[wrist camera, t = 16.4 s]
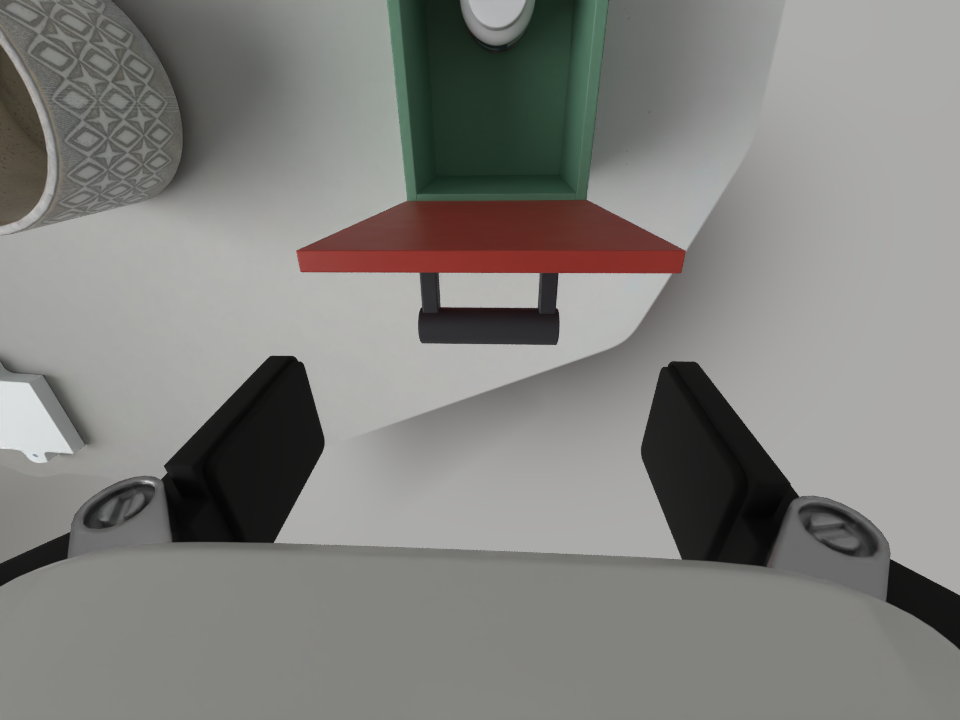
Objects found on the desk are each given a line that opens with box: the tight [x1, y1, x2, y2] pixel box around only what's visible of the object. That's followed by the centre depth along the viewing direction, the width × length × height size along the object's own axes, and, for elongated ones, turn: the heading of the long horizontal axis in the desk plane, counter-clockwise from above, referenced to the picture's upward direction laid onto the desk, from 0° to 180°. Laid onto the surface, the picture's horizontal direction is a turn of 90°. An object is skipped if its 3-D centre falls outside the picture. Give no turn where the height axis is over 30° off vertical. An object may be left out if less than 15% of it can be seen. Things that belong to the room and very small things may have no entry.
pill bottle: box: [460, 0, 535, 53], centre depth 30 cm, size 5×5×9 cm
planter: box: [0, 0, 183, 235], centre depth 33 cm, size 19×19×14 cm
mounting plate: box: [0, 362, 85, 463], centre depth 59 cm, size 18×13×2 cm
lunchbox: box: [387, 0, 609, 201], centre depth 32 cm, size 18×14×11 cm
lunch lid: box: [297, 200, 685, 345], centre depth 24 cm, size 18×14×5 cm
